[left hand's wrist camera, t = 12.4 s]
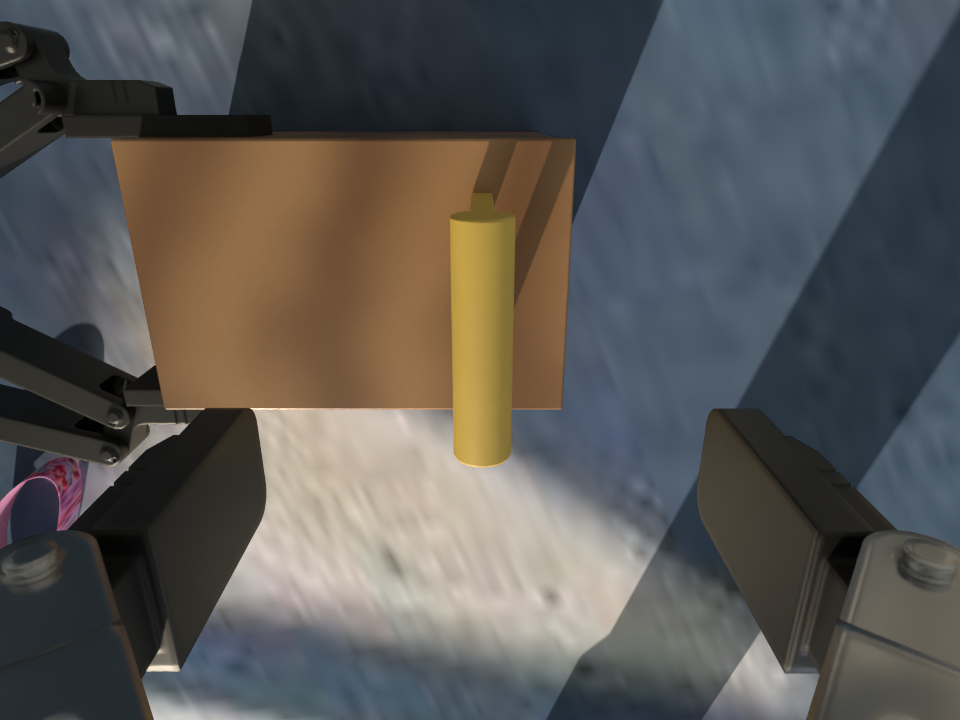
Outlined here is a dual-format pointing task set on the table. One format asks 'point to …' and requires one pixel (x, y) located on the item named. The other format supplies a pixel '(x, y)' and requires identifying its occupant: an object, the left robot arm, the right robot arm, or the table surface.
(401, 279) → the lid
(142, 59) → the table surface
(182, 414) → the right robot arm
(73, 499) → the pink curved piece
